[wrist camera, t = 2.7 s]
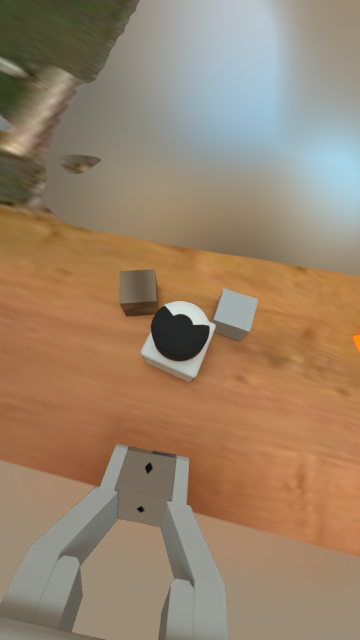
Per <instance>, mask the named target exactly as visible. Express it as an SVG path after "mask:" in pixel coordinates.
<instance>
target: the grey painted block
mask: <svg viewBox="0 0 360 640" xmlns="http://www.w3.org/2000/svg"><path fill="white" fill-rule="evenodd" d="M257 302H258V299H255V298H252V297H249V296H246V295H243V294H240V293H237V292H234V291H231V290H228V289H225V288H224V289H223V291H222V294H221V296H220V298H219V300H218V302H217V305H216V308H215V311H214V314H213V317H212V320H211V322H212V323H214V324H215V325H216V328H215V330H214V332H215V333H218V334H221V335H223V336H226V337H229V338H232V339H235V340H238V341H240V340H241V339H242V338H243V337H245V336H246V335H247V334H248V333H249V332H250V329H251V325H252V322H253V318H254V314H255V310H256V306H257Z"/></svg>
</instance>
